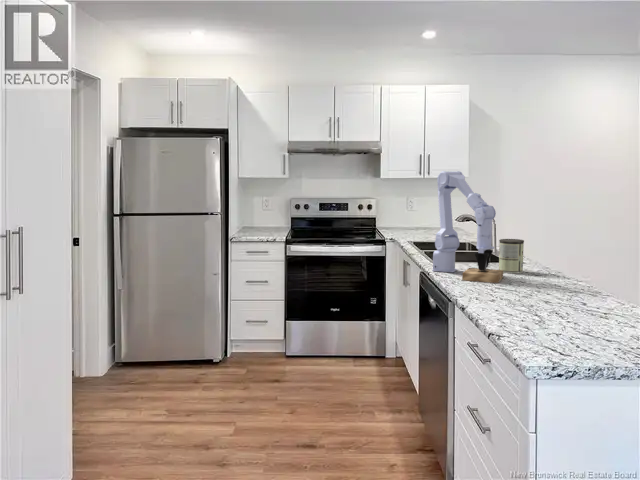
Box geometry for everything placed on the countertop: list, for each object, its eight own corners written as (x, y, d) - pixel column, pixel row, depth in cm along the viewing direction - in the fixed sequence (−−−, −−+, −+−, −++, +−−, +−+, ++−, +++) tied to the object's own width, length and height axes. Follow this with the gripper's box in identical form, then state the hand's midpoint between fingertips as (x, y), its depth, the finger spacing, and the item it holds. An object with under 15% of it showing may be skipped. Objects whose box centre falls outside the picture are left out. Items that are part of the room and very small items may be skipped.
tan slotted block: (462, 280, 226) (462, 272, 225) (468, 274, 238) (469, 267, 238) (498, 282, 220) (498, 275, 219) (503, 277, 232) (503, 270, 232)
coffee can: (496, 269, 252) (497, 238, 250) (519, 270, 251) (520, 238, 249) (501, 273, 242) (502, 241, 240) (525, 273, 241) (526, 241, 239)
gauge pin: (479, 278, 229) (479, 257, 228) (481, 278, 231) (481, 256, 230) (484, 279, 227) (485, 257, 226) (486, 278, 229) (487, 256, 228)
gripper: (491, 237, 219) (490, 271, 220) (497, 234, 232) (496, 266, 233) (473, 236, 222) (472, 270, 223) (479, 233, 235) (478, 265, 236)
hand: (483, 268), depth 229 cm, fingers open, 7 cm apart
